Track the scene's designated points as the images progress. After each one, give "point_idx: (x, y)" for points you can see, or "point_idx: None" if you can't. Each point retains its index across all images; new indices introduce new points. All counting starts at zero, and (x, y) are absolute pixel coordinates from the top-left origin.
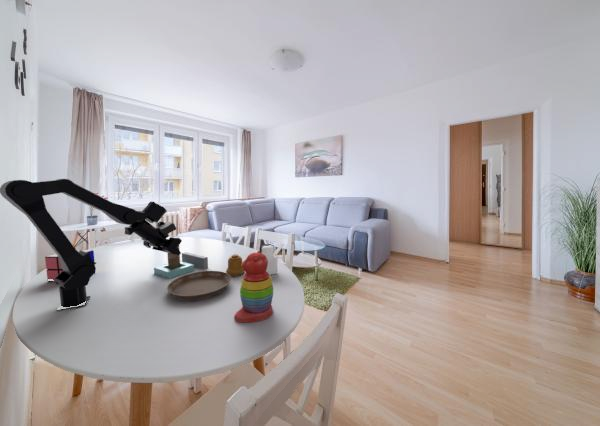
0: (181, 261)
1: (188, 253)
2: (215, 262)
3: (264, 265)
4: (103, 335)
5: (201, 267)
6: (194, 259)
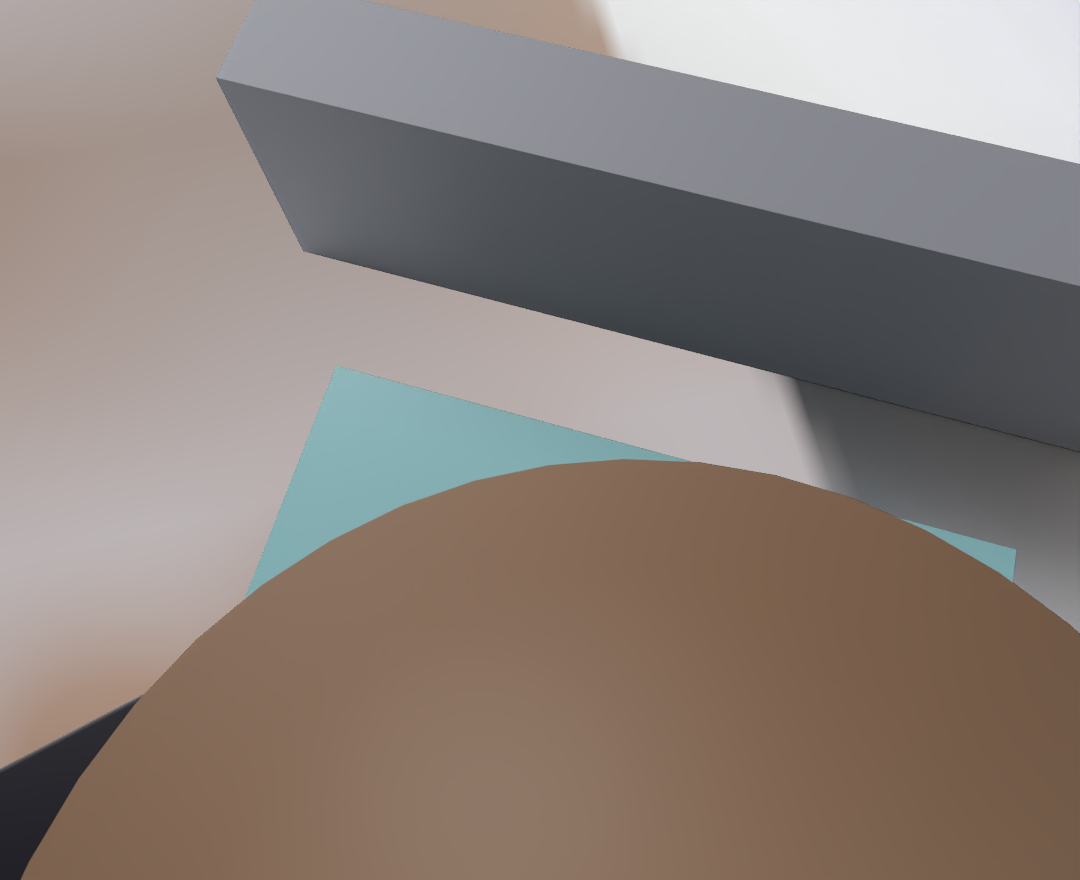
0: (454, 403)
1: (442, 52)
2: (969, 44)
3: None
4: None
5: (1014, 423)
6: (803, 280)
